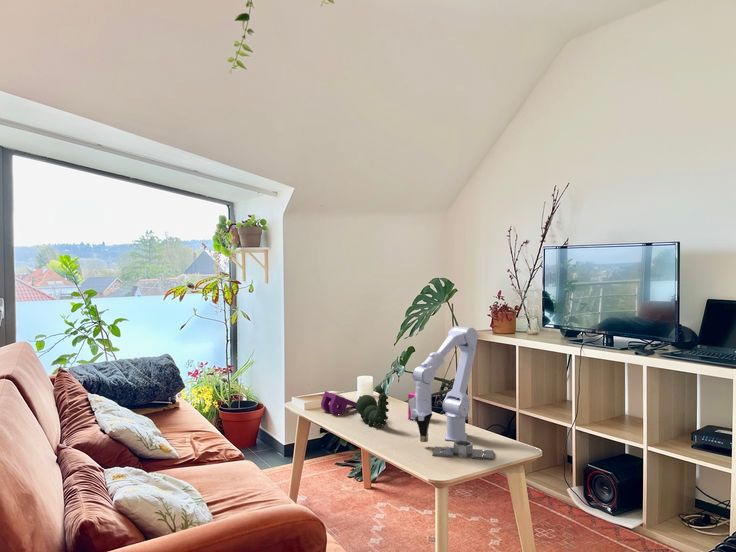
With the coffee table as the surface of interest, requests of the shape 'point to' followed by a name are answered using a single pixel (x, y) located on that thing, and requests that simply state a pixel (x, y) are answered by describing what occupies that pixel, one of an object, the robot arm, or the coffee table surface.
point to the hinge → (463, 451)
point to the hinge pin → (424, 437)
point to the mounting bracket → (335, 403)
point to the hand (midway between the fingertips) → (424, 434)
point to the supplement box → (412, 406)
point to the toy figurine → (373, 408)
